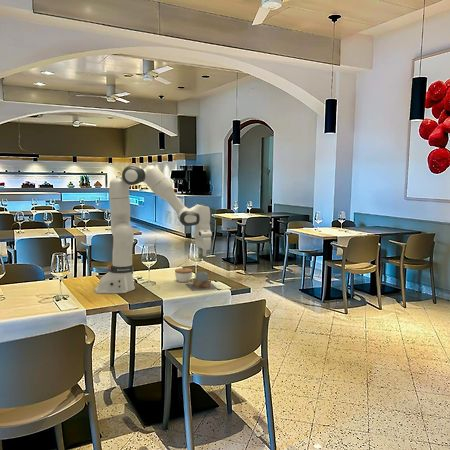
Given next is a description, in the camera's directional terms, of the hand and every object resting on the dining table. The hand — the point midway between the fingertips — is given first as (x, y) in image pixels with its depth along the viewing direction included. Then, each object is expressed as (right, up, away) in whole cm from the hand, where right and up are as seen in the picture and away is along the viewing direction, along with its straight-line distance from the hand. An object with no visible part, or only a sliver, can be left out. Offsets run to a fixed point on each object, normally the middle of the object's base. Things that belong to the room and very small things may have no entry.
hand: (202, 254), depth 254 cm
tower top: (0, -15, +2) cm, 15 cm away
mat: (-1, -20, +2) cm, 20 cm away
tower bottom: (-1, -19, +2) cm, 19 cm away
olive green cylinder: (0, -2, 0) cm, 2 cm away
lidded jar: (-12, -18, +15) cm, 27 cm away
